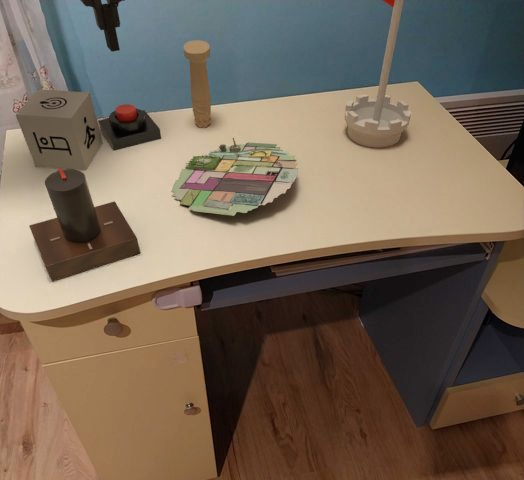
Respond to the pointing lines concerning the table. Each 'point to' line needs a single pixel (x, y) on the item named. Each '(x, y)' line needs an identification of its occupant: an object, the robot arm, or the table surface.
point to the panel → (85, 244)
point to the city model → (235, 178)
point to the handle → (199, 80)
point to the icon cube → (60, 129)
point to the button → (126, 112)
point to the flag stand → (379, 102)
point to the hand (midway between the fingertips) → (113, 48)
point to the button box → (129, 130)
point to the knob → (73, 205)
